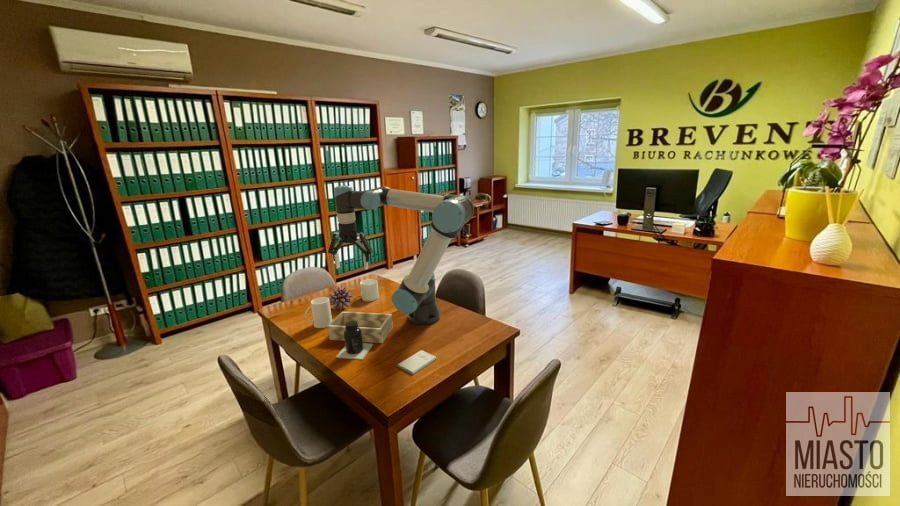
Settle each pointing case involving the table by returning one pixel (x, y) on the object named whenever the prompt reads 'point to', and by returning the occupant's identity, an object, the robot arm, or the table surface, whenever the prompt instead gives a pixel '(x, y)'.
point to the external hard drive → (416, 362)
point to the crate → (363, 319)
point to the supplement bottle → (353, 338)
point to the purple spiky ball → (340, 297)
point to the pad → (359, 355)
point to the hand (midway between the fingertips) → (352, 268)
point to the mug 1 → (320, 312)
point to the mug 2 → (369, 289)
